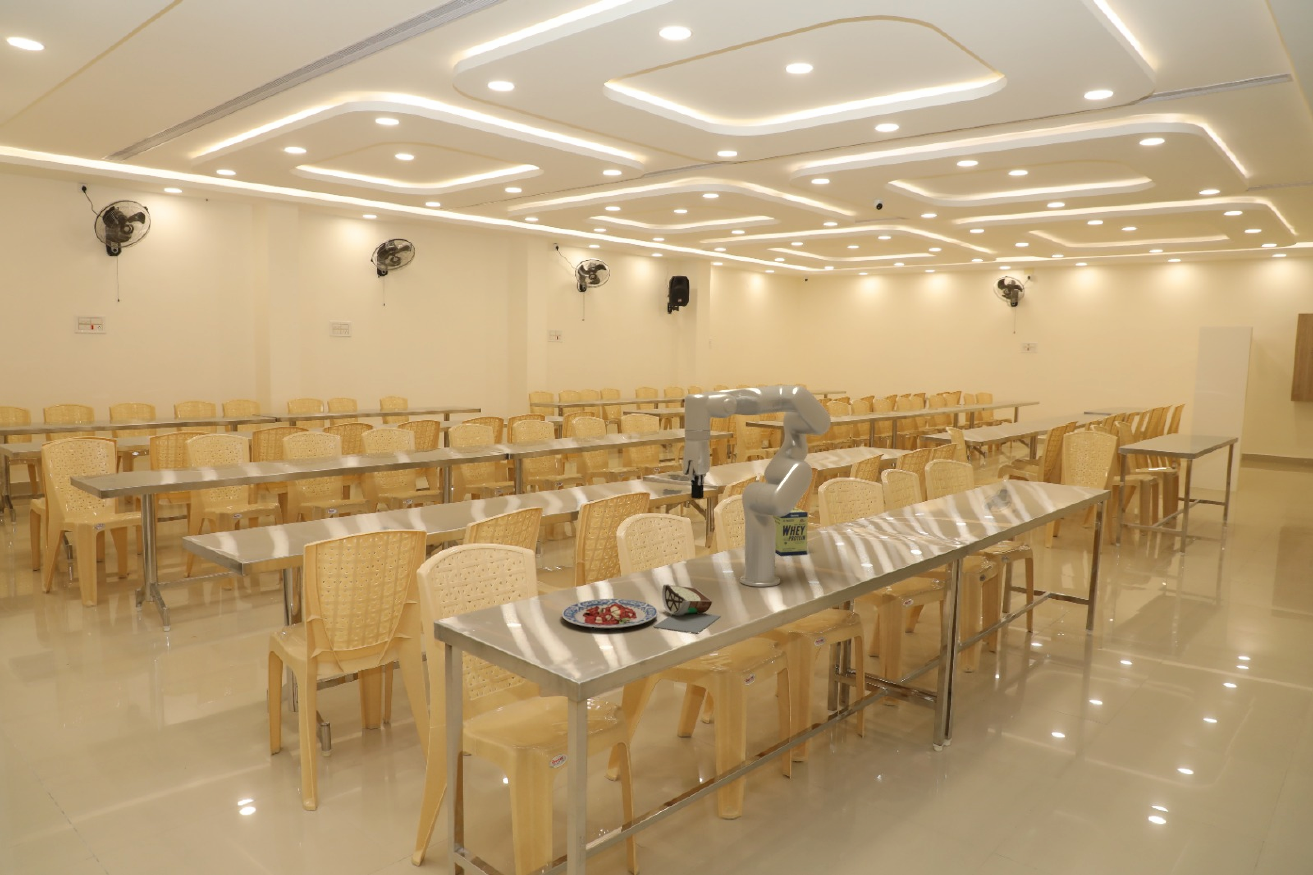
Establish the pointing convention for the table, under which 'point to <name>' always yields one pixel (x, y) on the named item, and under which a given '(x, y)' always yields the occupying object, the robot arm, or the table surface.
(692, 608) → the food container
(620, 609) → the ceramic plate
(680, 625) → the mat
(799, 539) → the protein box
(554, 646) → the table surface
